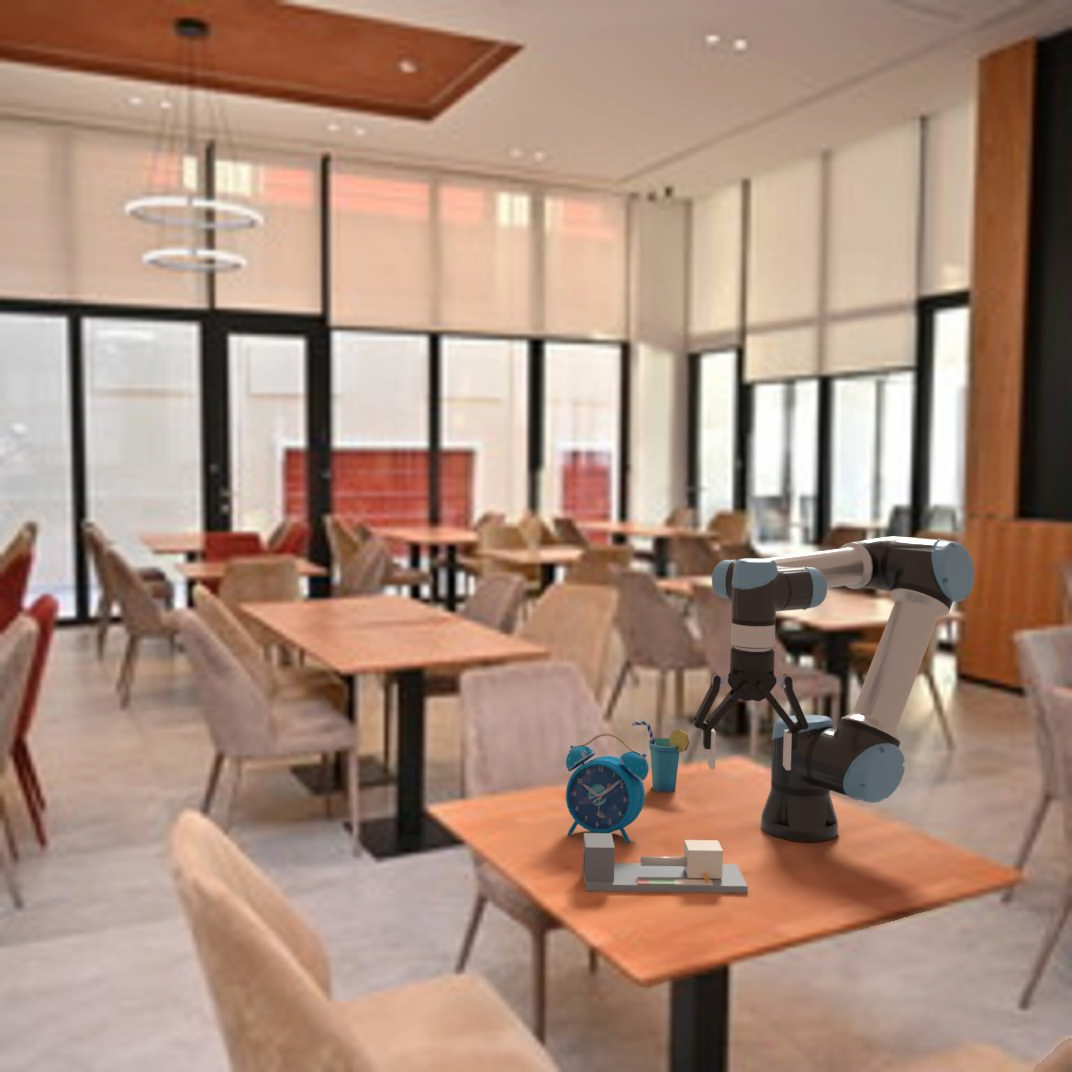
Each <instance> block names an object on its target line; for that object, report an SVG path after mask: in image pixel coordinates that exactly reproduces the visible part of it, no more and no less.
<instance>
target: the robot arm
mask: <svg viewBox="0 0 1072 1072" xmlns="http://www.w3.org/2000/svg"><path fill="white" fill-rule="evenodd" d="M974 583H975V566H974V563H973V559H972V557H971V554H970V552H969V551H968V549H967V548H966V546H964V545H963V544H962V543H960V542H958V541H953V540H946V539H944V538H937V539H936V538H922V537H909V536H902V535H901V536H900V535H892V536H890V535H889V536H882V537H877V538H876V537H875V538H869V539H864V540H859V541H853V542H847V543H844V544H843V545H842V546H840V547H839V548H838V549H829V550H821V551H813V552H807V553H799V554H798V553H797V554H790V555H784V556H783V555H781V556H774V557H768V558H758V557H757V558H751V557H749V558H747V557H746V558H745V557H744V558H740V559H725V560H724V559H723V560H721V561H720V562H718V563H717V564H716V566H715V567H714V568H713V571H712V574H711V586H712V589H713V591H714V593H715V594H716V595H717V596H718V597H720V598H723V599H727V600H730V601H731V629H730V630H731V633H730V644H731V645H732V646H733V647H731V649H730V656H729V657H730V662H729V663H730V664H729V666H730V667H729V673H728V675H721V674H718V673H716V672H714V673H712V674H711V676H710V677H711V678H710V686H709V687H708V689H707V692H706V694H705V695H704V698H703V700H702V702H701V704H700V706H699V708H698V709H697V712H696V714H695V715H694V718H693V720H692V723H693V725H694V727H695V729H701V730H702V745H703V746H702V747H703V748H704V750H708V755H707V756H708V761H707V763H708V764H707V765H708V767H709V768H710V770H716V747H717V745H716V744H717V743H716V740H717V739H716V738H717V733H716V731H715V729H714V728H715V727H716V726H717V725H718V724H719V722H720V721H721V720H722V718H723V717H725V715H726V714H727V713H728V711H729V710H730V709H731V708H732V707H733V706H734V705H735V704H736V703H738V701H739V700H740V701H743V702H749V701H755V702H762V700H766V701H767V702H768V704H769V705H770V706H771V707H772V708H773V710H774V711H775V713H776V714H777V715H778V716H779V718H778V719H777V720H775V722H774V723H773V726H772V727H773V728H772V737H771V772H770V773H771V774H770V778H771V780H770V781H771V783H770V791H769V794H768V796H767V798H766V802H765V804H764V807H763V810H762V812H761V815H760V816H761V818H760V826H761V829H762V830H763V831H764V832H766V833H767V834H769V835H770V836H773V837H775V838H779V839H782V840H789V841H795V842H805V843H817V842H824V841H829V840H831V839H834V838H835V837H837V835H838V832H839V820H838V817H837V815H836V811H835V807H834V804H833V800H832V797H831V792H835V793H837V794H841V795H844V796H847V797H849V798H850V799H852V800H855V801H862V802H866V803H870V804H874V803H880V802H881V801H884V800H885V799H888V798H889V797H891V796H892V795H893V794H894V793H895V792H896V790H897V789H898V787H899V786H900V784H901V782H902V780H903V778H904V773H905V769H906V768H905V765H904V763H905V756H904V753H903V752H902V750H901V749H900V745H901V741H902V740H901V739H900V736H899V735H898V732H897V729H898V726H899V724H900V721H901V718H902V715H903V713H904V710H905V707H906V705H907V702H908V699H909V697H910V695H911V692H912V688H913V687H914V684H915V681H916V678H917V676H918V673H919V671H920V668H921V664H922V662H923V659H924V656H925V655H926V651H927V648H928V646H929V644H930V641H931V638H932V635H933V633H934V629H935V627H936V624H937V623H938V619H940V618H943V617H946V616H947V615H949V613H950V611H951V608H952V606H953V603H959V602H963V601H964V600H965V599H967V598H968V597H969V595H971V592H972V591H973V587H974ZM844 586H845V587H847V588H849V589H850V590H851V589H852V590H857V589H873V590H878V591H879V590H880V591H884V592H885V591H886V592H889V595H890V596H891V599H892V601H893V602H894V603H893V606H892V609H891V611H890V614H889V617H888V620H887V621H886V624H885V627H884V630H883V632H882V634H881V638H880V640H879V643H878V645H877V647H876V651H875V652H874V656H873V658H872V661H871V663H870V666H869V669H868V671H867V674H866V676H865V679H864V682H863V684H862V687H861V690H860V692H859V693H858V694H859V695H858V697H857V700H856V701H855V702H856V703H855V706H854V707H853V710H852V712H851V713H850V714H847V715H845V716H842V717H841V719H840V721H839V724H838V726H837V728H836V729H835V728H834V723H833V722H834V721H833V719H832V718H831V717H829V716H827V715H821V714H804V711H803V709H802V708H801V705H800V703H799V700H798V698H797V696H796V694H795V692H794V687H793V686H794V685H793V679H792V677H791V676H790V675H789V674H786V673H785V674H783V675H779V676H778V675H777V676H776V675H775V651H774V649H773V648H774V646H776V645H775V644H776V643H775V641H776V617H777V616H776V614H777V612H785V611H796V610H803V611H806V610H809V609H812V608H817V607H819V606H821V604H823V602H824V601H825V599H826V597H827V595H828V594H827V593H828V589H831V588H832V589H833V588H838V587H839V588H840V587H844ZM727 683H728V685H729V686H730V688H731V689H730V690H729V692H727V694H726V696H725V697H724V698H723V700H722V701H721V702H720V703H719V704H718V705H717V707H716V708H715V709H714V710H713V711H712V713H711V714H710V715H708V714H709V712H710V710H711V708H712V706H713V704H714V701H715V700H716V698H717V696H718V694H719V692H720V689H723V687H724V686H725V684H727ZM777 684H778V686H779V687H780V688H781V689H783V692H784V695H785V696H786V698H787V701H788V702H789V705H790V707H791V710H792V711H793V714H794V715H789V714H788V713H787V712H786V711H785V709H784V708H783V707H782V706H781V704H780V703H779V702H778V701H777V699H776V698H775V696H774V695H773V694H772V692H771V691H773V689H774V688H775V686H776V685H777ZM707 716H708V717H707Z"/></svg>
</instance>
